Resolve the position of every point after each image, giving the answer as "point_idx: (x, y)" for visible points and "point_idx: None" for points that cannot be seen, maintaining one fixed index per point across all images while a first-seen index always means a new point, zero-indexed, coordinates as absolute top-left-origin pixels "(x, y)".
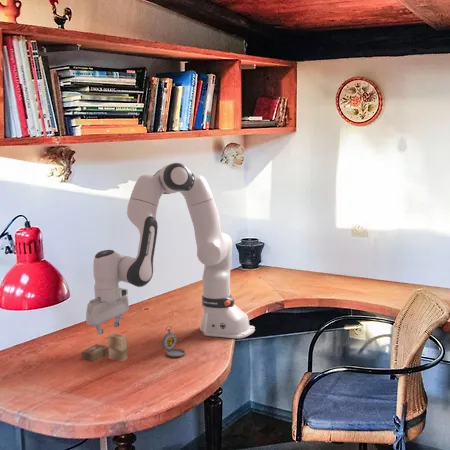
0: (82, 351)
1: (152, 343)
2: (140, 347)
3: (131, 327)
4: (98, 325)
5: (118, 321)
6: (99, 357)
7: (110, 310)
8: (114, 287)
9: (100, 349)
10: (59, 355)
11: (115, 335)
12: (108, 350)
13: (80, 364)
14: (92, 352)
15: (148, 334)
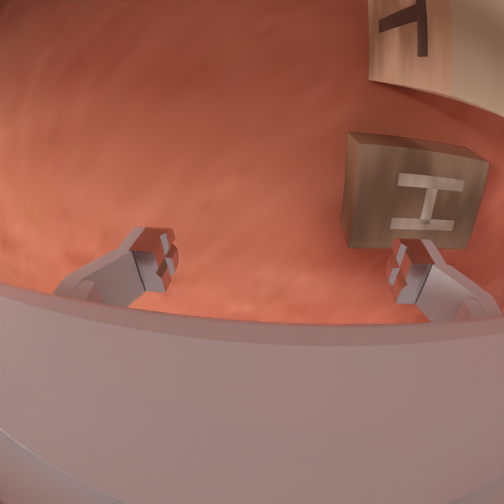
0: (461, 245)
1: (84, 33)
2: (162, 29)
3: (45, 265)
4: (497, 307)
5: (127, 259)
6: (438, 144)
7: (309, 495)
8: None
9: (423, 169)
10: (421, 318)
11: (486, 43)
12: (361, 137)
13: (500, 192)
14: (470, 188)
15: (29, 154)
